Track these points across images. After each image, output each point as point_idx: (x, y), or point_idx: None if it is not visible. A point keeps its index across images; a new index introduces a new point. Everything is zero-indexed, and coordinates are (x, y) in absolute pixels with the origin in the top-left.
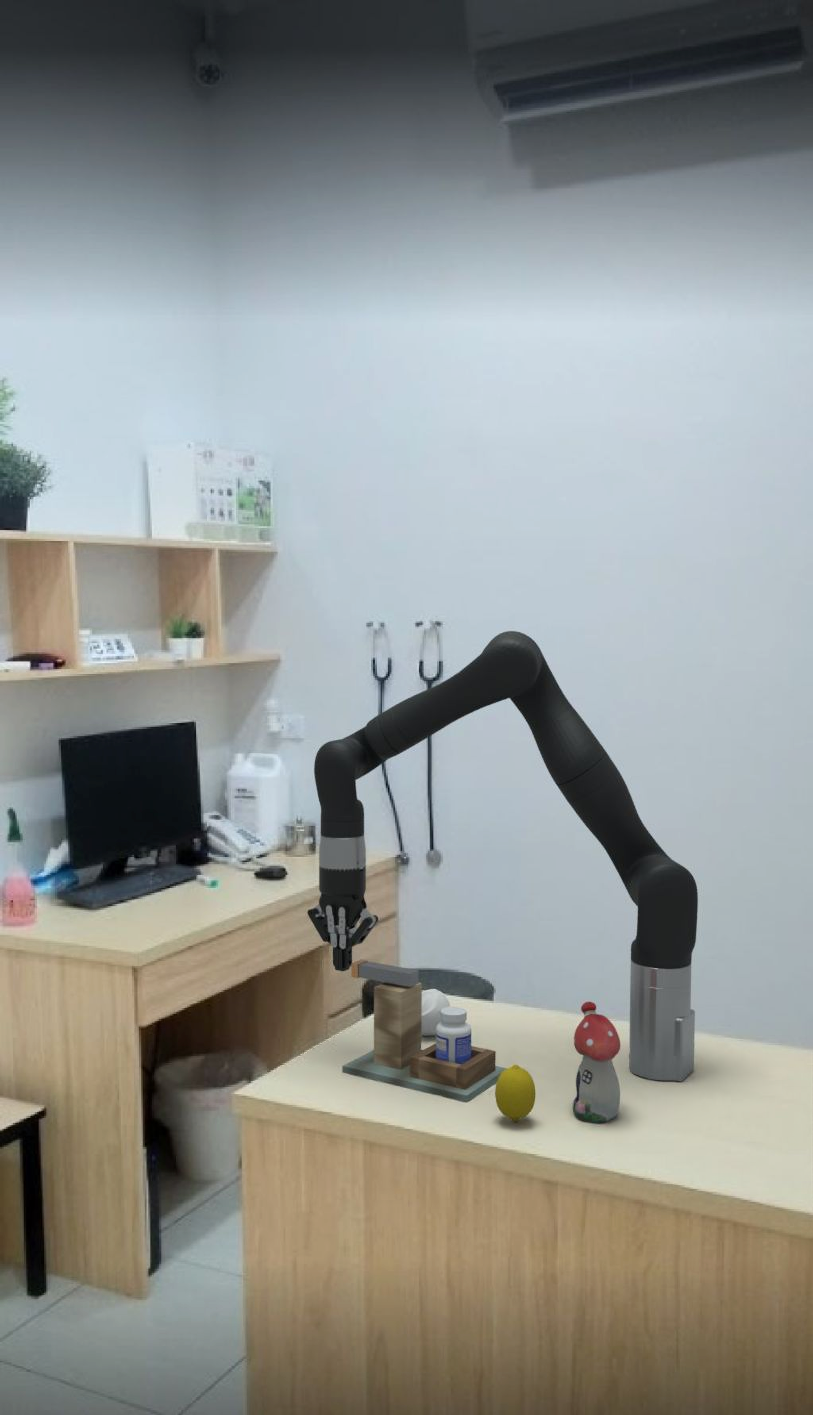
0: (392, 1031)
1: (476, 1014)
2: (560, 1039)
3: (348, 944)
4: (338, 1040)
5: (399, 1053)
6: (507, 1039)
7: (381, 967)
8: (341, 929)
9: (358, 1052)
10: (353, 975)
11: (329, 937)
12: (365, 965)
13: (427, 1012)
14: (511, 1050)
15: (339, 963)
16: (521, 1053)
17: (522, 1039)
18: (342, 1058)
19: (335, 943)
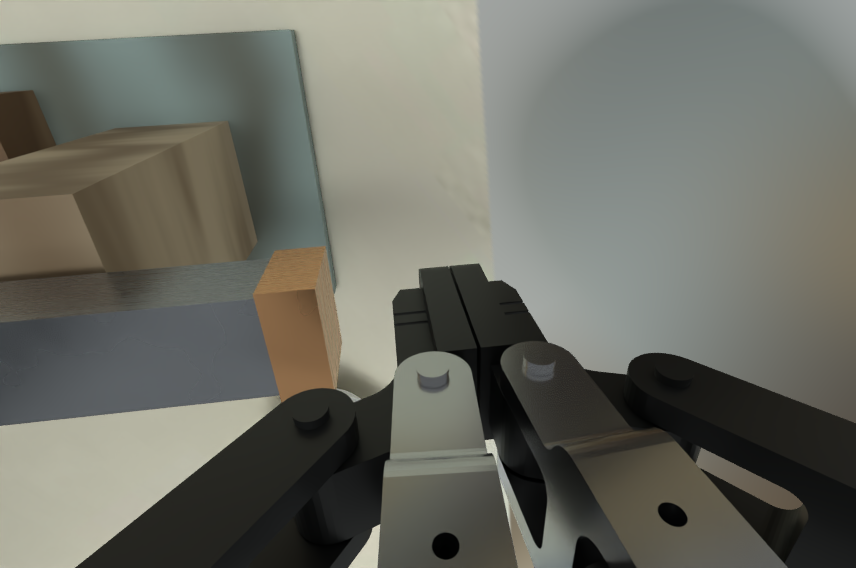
0: (76, 149)
1: None
2: (82, 541)
3: (383, 410)
4: (489, 251)
5: (91, 137)
6: (164, 485)
7: (63, 347)
8: (447, 509)
9: (379, 211)
10: (308, 252)
11: (632, 409)
12: (198, 315)
13: None
14: (94, 445)
15: (447, 285)
16: (60, 444)
17: (140, 501)
18: (383, 140)
19: (520, 367)
